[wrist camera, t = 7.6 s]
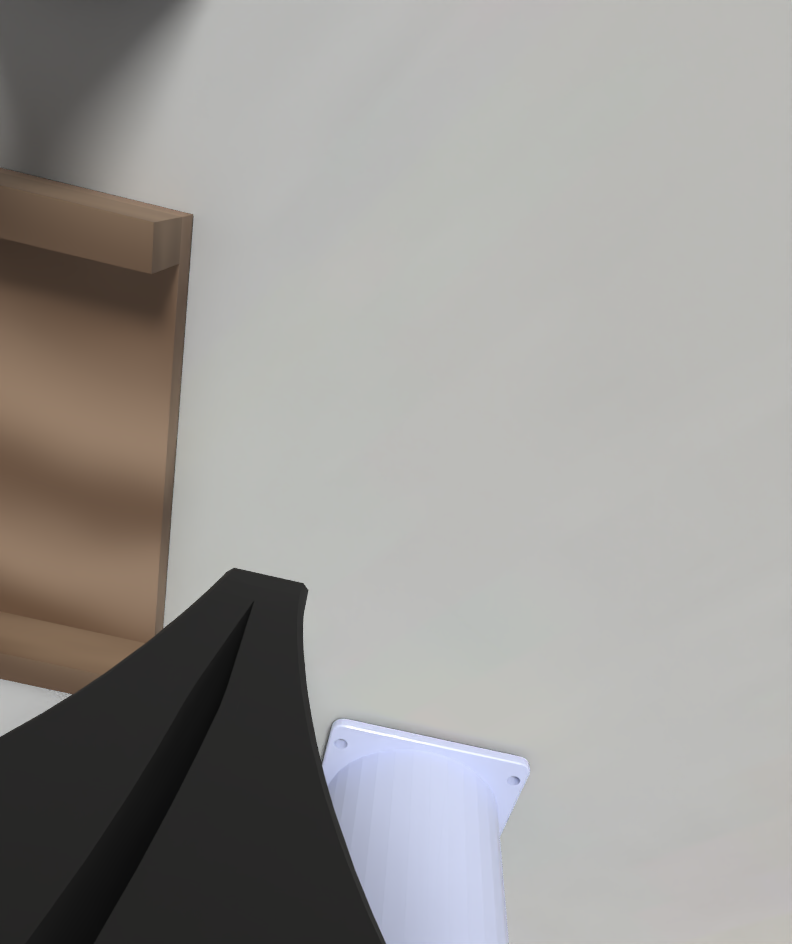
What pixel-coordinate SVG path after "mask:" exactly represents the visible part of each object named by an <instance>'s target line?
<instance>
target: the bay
mask: <svg viewBox="0 0 792 944" xmlns="http://www.w3.org/2000/svg"><path fill="white" fill-rule="evenodd" d="M192 225H193V214H188V213H184V212H180V211H176V210H172V209H168V208H164V207H160V206H156V205H152V204H147V203H143V202H139V201H135V200H131V199H127V198H123V197H119V196H115V195H110V194H106V193H102V192H98V191H94V190H90V189H86V188H82V187H78V186H74V185H69V184H65V183H61V182H57V181H53V180H49V179H45V178H41V177H37V176H33V175H28V174H24V173H20V172H16V171H12V170H8V169H4V168H0V679H4V680H9V681H14V682H18V683H23V684H28V685H32V686H37V687H42V688H46V689H51V690H56V691H60V692H65V693H70V694H74V693H76V692H77V691H79V690H80V689H82V688H83V687H85V686H86V685H88V684H89V683H91V682H92V681H94V680H95V679H97V678H98V677H100V676H101V675H103V674H104V673H106V672H107V671H108V670H110V669H111V668H112V667H114V666H115V665H116V664H118V663H119V662H121V661H122V660H123V659H125V658H126V657H127V656H129V655H130V654H131V653H133V652H134V651H136V650H137V649H138V648H140V647H141V646H142V645H144V644H145V643H146V642H148V641H149V640H150V639H151V638H153V637H154V636H155V635H156V634H158V633H159V632H160V631H161V630H162V629H163V619H164V606H165V592H166V578H167V565H168V551H169V538H170V524H171V510H172V497H173V483H174V470H175V456H176V442H177V429H178V415H179V402H180V388H181V375H182V361H183V347H184V334H185V320H186V307H187V293H188V279H189V266H190V252H191V239H192Z"/></svg>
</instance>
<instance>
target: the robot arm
mask: <svg viewBox="0 0 792 944" xmlns="http://www.w3.org/2000/svg"><path fill="white" fill-rule="evenodd" d="M307 595H308V589H307V588H306V586H305V585H304V584H303V583H299V582H295V581H291V580H286V579H282V578H277V577H273V576H268V575H264V574H259V573H255V572H250V571H246V570H241V569H237V568H233V569H231V570H229V571H228V572H226V573H225V574H224V575H223V576H222V577H221V578H220V579H219V580H218V581H217V582H216V583H215V584H214V585H213V586H212V587H211V588H210V589H209V590H208V591H207V592H206V593H204V594H203V595H202V596H201V597H200V598H199V599H198V600H197V601H196V602H194V603H193V604H192V605H191V606H190V607H189V608H188V609H187V610H185V611H184V612H183V613H182V614H181V615H180V616H178V617H177V618H176V619H175V620H173V621H172V622H171V623H170V624H169V625H167V626H166V627H165V628H164V629H162V630H161V631H160V632H159V633H158V634H156V635H155V636H154V637H153V638H151V639H150V640H149V641H148V642H146V643H145V644H144V645H142V646H141V647H140V648H138V649H137V650H136V651H134V652H133V653H131V654H130V655H129V656H127V657H126V658H125V659H123V660H122V661H121V662H119V663H118V664H116V665H115V666H114V667H112V668H111V669H110V670H108V671H107V672H106V673H104V674H103V675H101V676H100V677H98V678H97V679H95V680H94V681H92V682H91V683H89V684H88V685H86V686H85V687H83V688H82V689H80V690H79V691H77V692H76V693H74V694H73V695H71V696H69V697H68V698H66V699H65V700H63V701H61V702H60V703H58V704H56V705H55V706H53V707H52V708H50V709H48V710H47V711H45V712H43V713H42V714H40V715H38V716H36V717H35V718H33V719H31V720H29V721H28V722H26V723H24V724H22V725H21V726H19V727H17V728H15V729H13V730H12V731H10V732H8V733H6V734H5V735H3V736H1V737H0V944H509V939H508V927H507V915H506V903H505V891H504V880H503V868H502V856H501V844H500V836H501V833H502V831H503V829H504V827H505V825H506V823H507V821H508V819H509V816H510V814H511V812H512V810H513V808H514V806H515V804H516V802H517V799H518V797H519V795H520V793H521V791H522V789H523V787H524V785H525V782H526V780H527V778H528V776H529V774H530V767H529V763H528V761H527V760H526V759H525V758H523V757H520V756H516V755H511V754H507V753H502V752H497V751H493V750H488V749H484V748H479V747H474V746H470V745H465V744H460V743H456V742H451V741H446V740H442V739H437V738H433V737H428V736H423V735H419V734H414V733H409V732H405V731H400V730H396V729H391V728H386V727H382V726H377V725H372V724H368V723H363V722H358V721H354V720H349V719H338V720H336V721H335V722H334V723H333V724H332V727H331V731H330V735H329V739H328V743H327V747H326V751H325V755H324V759H323V763H321V759H320V755H319V751H318V747H317V742H316V737H315V732H314V727H313V722H312V716H311V710H310V704H309V698H308V691H307V684H306V674H305V663H304V651H303V616H304V610H305V605H306V600H307ZM339 739H343V740H339ZM511 776H515V777H511Z"/></svg>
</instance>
